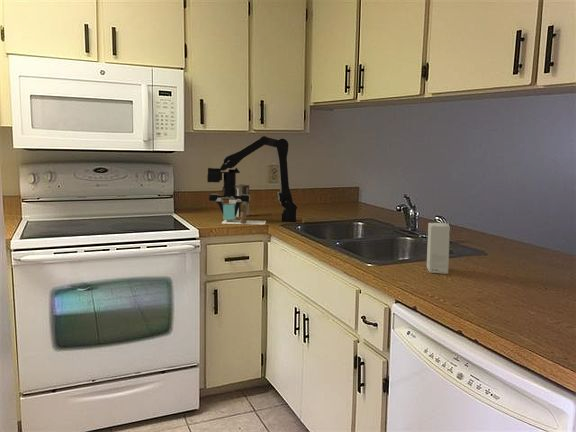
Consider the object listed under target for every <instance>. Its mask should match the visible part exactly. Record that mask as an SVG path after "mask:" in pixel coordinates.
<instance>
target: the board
mask: <svg viewBox="0 0 576 432" xmlns="http://www.w3.org/2000/svg"><path fill="white" fill-rule="evenodd" d="M266 222H267V220H247V219H246V224H245V225H261V226H262V225H266ZM221 224H227V225H229V224H230V225H231V224H233V225H236V224H237V225H242V224H241V219H233V221H232V222H226V219H223V221H222V222H221Z"/></svg>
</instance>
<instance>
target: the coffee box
mask: <svg viewBox="0 0 576 432" xmlns="http://www.w3.org/2000/svg"><path fill="white" fill-rule="evenodd" d="M236 189H237V196H241V195H242V194H249V195H250V184H241V183H240V184H239V183H238V184H236ZM236 202H237V200H228V204H236ZM241 212H246V216H250V201H249V202H243V203H241V204H240V206H239V208H238V212H237V215H236V218H241Z"/></svg>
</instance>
